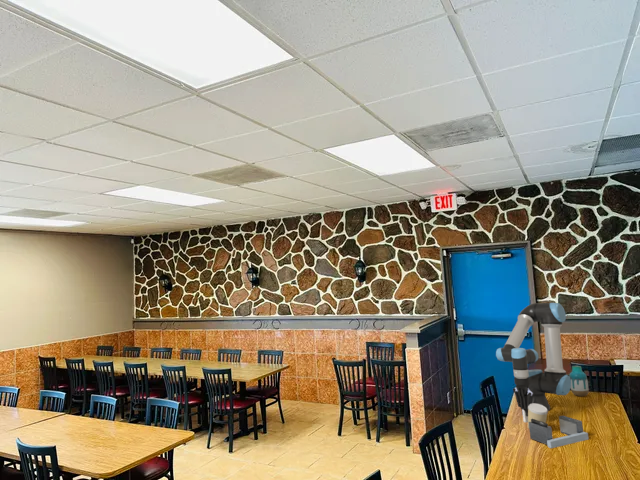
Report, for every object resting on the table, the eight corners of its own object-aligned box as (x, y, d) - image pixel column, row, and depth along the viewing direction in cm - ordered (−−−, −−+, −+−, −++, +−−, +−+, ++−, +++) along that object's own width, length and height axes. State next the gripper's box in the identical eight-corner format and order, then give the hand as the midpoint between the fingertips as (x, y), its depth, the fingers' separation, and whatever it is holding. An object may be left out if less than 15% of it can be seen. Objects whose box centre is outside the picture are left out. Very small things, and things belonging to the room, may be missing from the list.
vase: (575, 398, 285) (571, 368, 287) (568, 394, 296) (565, 365, 298) (592, 397, 283) (588, 367, 286) (585, 393, 294) (581, 364, 296)
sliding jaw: (530, 438, 218) (528, 418, 219) (536, 437, 219) (533, 417, 220) (548, 445, 208) (545, 424, 209) (554, 443, 209) (551, 423, 210)
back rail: (547, 447, 207) (546, 440, 207) (585, 438, 215) (584, 431, 215) (551, 448, 205) (550, 441, 205) (588, 439, 213) (587, 432, 213)
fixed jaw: (559, 432, 224) (557, 416, 225) (565, 431, 225) (563, 415, 226) (578, 439, 214) (576, 422, 215) (584, 437, 215) (581, 421, 216)
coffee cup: (544, 425, 233) (546, 404, 231) (547, 435, 224) (549, 414, 222) (525, 422, 236) (527, 401, 234) (527, 431, 227) (529, 410, 225)
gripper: (507, 376, 243) (512, 419, 240) (525, 380, 231) (530, 426, 228) (518, 374, 245) (523, 417, 243) (536, 378, 233) (541, 423, 230)
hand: (526, 421), depth 235 cm, fingers closed
